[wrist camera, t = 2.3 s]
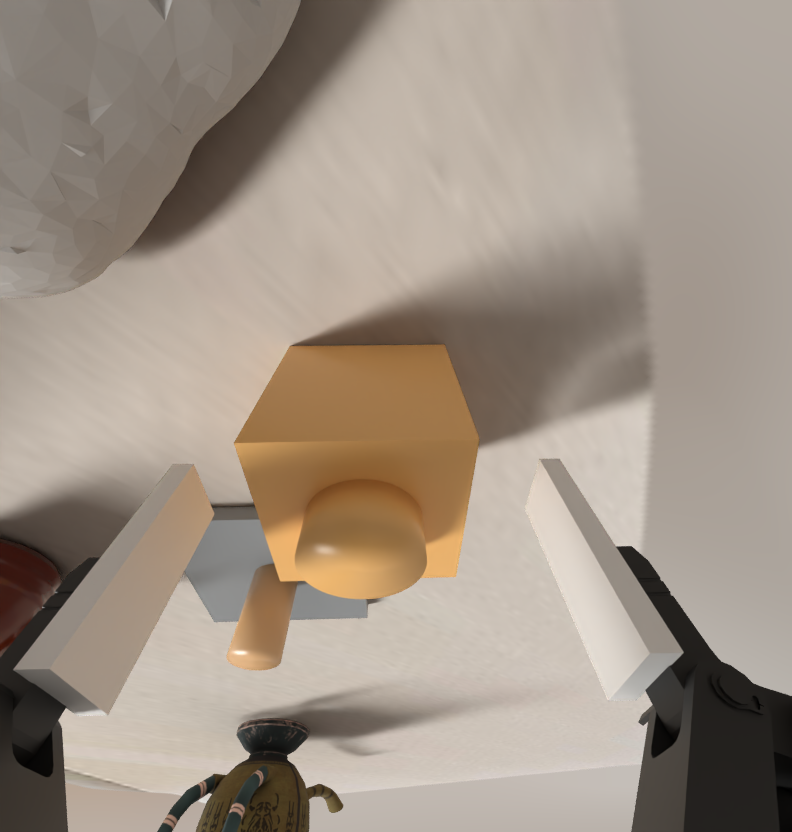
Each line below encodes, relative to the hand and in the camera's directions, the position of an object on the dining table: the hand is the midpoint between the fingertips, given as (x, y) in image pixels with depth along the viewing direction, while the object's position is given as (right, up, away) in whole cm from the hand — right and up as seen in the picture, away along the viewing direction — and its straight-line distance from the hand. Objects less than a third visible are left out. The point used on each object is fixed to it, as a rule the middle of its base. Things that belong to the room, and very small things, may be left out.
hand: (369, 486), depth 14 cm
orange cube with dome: (0, +3, +4) cm, 5 cm away
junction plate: (-7, -8, +11) cm, 15 cm away
